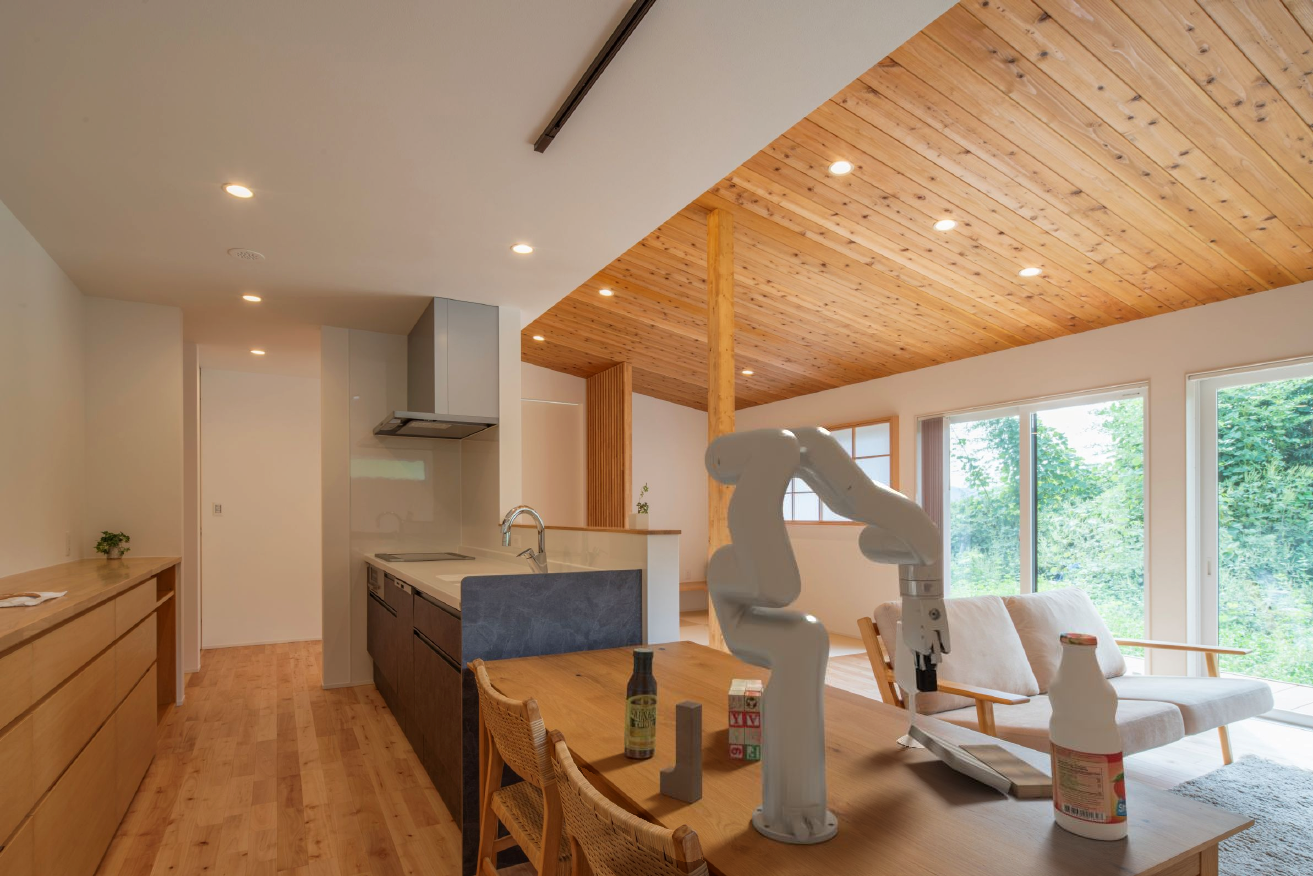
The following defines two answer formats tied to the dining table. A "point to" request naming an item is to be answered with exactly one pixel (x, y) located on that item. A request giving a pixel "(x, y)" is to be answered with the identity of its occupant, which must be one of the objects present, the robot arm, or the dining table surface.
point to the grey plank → (959, 759)
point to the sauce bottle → (641, 707)
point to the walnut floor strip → (1013, 771)
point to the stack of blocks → (745, 719)
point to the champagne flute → (906, 681)
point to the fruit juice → (1086, 745)
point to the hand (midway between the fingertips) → (927, 690)
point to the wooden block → (685, 756)
